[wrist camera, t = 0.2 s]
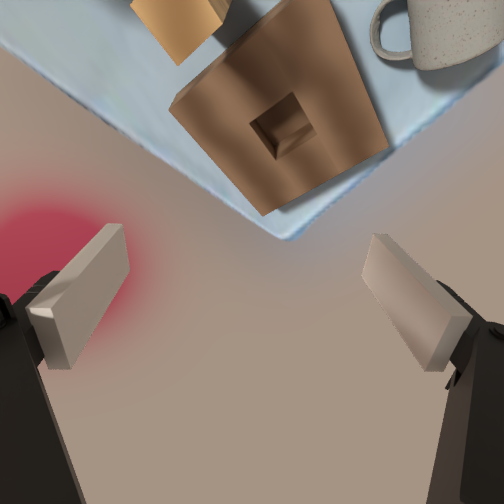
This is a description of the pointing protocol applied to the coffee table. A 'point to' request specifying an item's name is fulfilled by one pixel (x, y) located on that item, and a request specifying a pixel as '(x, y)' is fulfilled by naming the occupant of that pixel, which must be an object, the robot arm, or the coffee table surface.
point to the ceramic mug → (445, 31)
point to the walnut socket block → (282, 106)
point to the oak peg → (181, 22)
